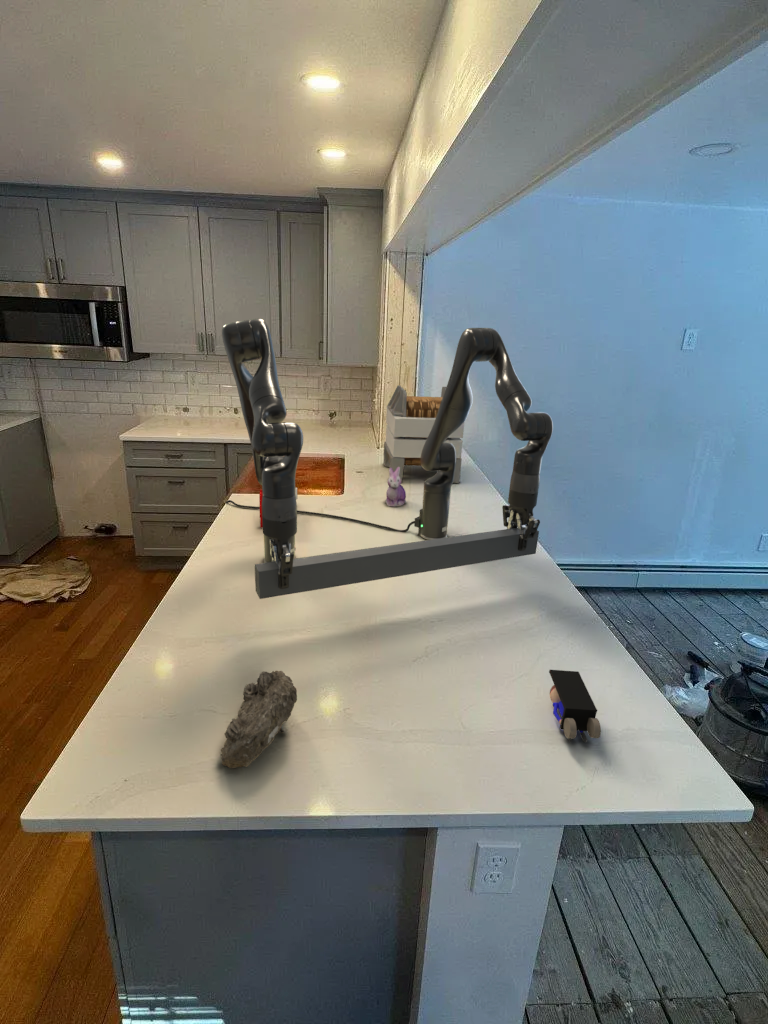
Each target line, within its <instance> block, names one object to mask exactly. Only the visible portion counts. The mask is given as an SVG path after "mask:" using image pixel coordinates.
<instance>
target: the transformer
mask: <svg viewBox="0 0 768 1024" xmlns="http://www.w3.org/2000/svg"><path fill="white" fill-rule="evenodd" d="M446 387H447V386H442V387H441V392H440V393H441V394H440V396H415V395H414V396H413V395H412V396H411V395H407V394H408V393H407V390H406V389H404V388H403V387H402V385H399V384H398V385H397V386H396V388H395V390H394V392H393V394H392V395H391V398H390V400H389V402H388V404H387V405H386V413H385V414H386V415H385V423H386V428H385V438H384V442H383V466H384V467H388V468H390V467H391V468H392V469H393V471H394V472H395V470H396V469H397V468H398V467H400V472H399V477H400V480H401V483H402V482H403V475H404V469H405V466H406V467H407V466H411V467H412V466H413V467H415V466H416V467H417V466H418V467H422V466H421V452H422V449H423V446H424V444H425V442H426V440H427V438H428V436H429V434H430V431H431V429H432V427H433V424H434V422H435V419H436V416H437V413H438V410H439V406H440V403H441V400H442V397H443V395H444V392H445V390H446ZM464 429H465V422H464V423H463V424H462V425H461V426H460V427H459V428H458V429H457V430H456V431H454V432H453V433H452V434H451V435H450V436H449V437H448V438H447V439H446V440H445V441H444V443H451V444H452V445H453V446H454V448H455V451H456V463H455V470H454V478H453V483H452V484H455V483H456V484H459V483H461V472H462V461H463V460H462V453H463V442H464V441H463V440H462V439H463V438H464V431H465V430H464ZM388 476H390V475H388Z"/></svg>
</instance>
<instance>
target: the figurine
mask: <svg viewBox="0 0 768 1024" xmlns="http://www.w3.org/2000/svg"><path fill="white" fill-rule="evenodd" d="M388 472H389V475H390V476H389V475H388V476H389V477H388V479H387V486H388V487H387V489H386V494H385V496H386V499H385V504H386V506H388V507H400V506H403V505H405V502H406V498H407V493H406V490H405V488H404V487H403V485H401V484H402V482H401V480H400V477H399V472H400V467H398V468H397V469H396V470H395V472H394V471H393V469H392V468H391V467H388Z"/></svg>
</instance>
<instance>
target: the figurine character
mask: <svg viewBox="0 0 768 1024" xmlns="http://www.w3.org/2000/svg"><path fill="white" fill-rule="evenodd" d="M548 673H549V675H550V678H551V680H552V682H553V685H552V686H551V688H550V690H549V699H550V701H551V702H552V706H553V711H552V714H553V715H554V717H555V719H556V720H557V722H558V724H559V725H560V726H559V728H560V731H561V730H562V731H563V733H564V736H565V738H566V739H567V741H569V742H570V743H572V742H573V739H576V737H577V732H578V733H579V735H580V737H581V739H582V742H584V743H588V738H587V736H586V733H585V732H587V735H588V737H589V738H591V739H600V738H601V733H602V727H601V723H600V720H599V719H598V718H597V717H596V716H597V714H598V713H597V712H598V709H597V707H596V705H595V703H594V700H593V699H592V696H591V694H590V692H589V690H588V689H587V686H586V684H585V681H583V678H582V676H581V674H580V672H579V671H577V670H562V669H561V670H560V669H549V671H548ZM558 711H559V714H560V715H559V714H558Z"/></svg>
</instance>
